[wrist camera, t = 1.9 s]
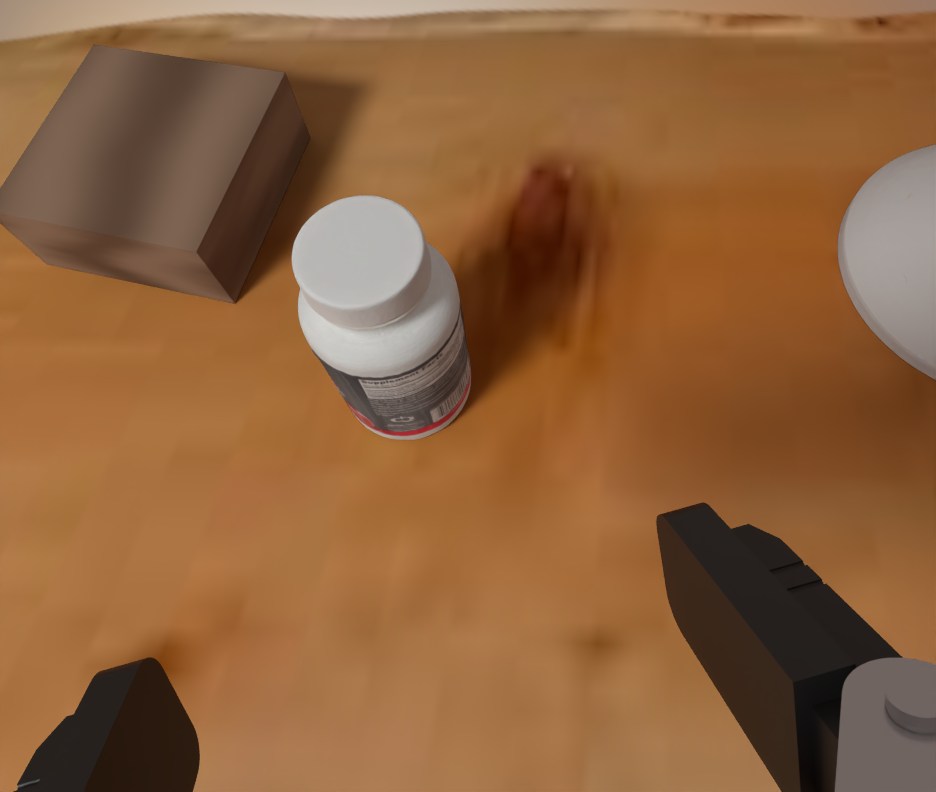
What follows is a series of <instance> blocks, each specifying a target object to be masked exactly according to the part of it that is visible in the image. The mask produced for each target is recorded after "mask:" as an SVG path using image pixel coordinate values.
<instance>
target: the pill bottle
mask: <svg viewBox="0 0 936 792" xmlns="http://www.w3.org/2000/svg"><path fill="white" fill-rule="evenodd" d="M292 266H293V272H294V275H295V278H296V280H297V282H298V284H299V286H300V288H301V289H300V293H299V299H298V315H299V320H300V324H301V327H302V330H303V333H304V335H305V337H306V340H307V342H308V343H309V345H310V347H311V349H312V351H313V352H314V354H315V355H316V356H317V357H318V358H319V360H320V361H321V363H322V364H323V366H324V367H325V369H326V371H327V372H328V374H329V376H330V377H331V379H332V380H333V382H334V384H335V386H336V387H337V389H338V390H339V392H340V394H341V395H342V397H343V398H344V400H345V401H346V403H347V405H348V406H349V408H350V409H351V411H352V412H353V414H354V415H355V416H356V417H357V419H358V420H359V421H360V422H361V423H362V424H363V425H364V426H365V427H367V428H368V429H369V430H371V431H373V432H374V433H376V434H378V435H381V436H383V437H387V438H390V439H399V440H414V439H420V438H424V437H426V436H429V435H431V434H434V433H436V432H438V431H440V430H442V429H443V428H444V427H446V426H447V425H449V424H450V423H451V422H452V421H453V420H454V419H455V418H456V416H457V415H458V414H459V413H460V411H461V410H462V408H463V406H464V404H465V403H466V400H467V398H468V395H469V391H470V386H471V366H470V359H469V354H468V349H467V342H466V336H465V328H464V322H463V314H462V308H461V303H460V297H459V292H458V287H457V283H456V280H455V276H454V274H453V272H452V270H451V268H450V266H449V264H448V263H447V261H446V260H445V258H444V257H443V256H442V255H441V254H440V253H439V252H438V251H437V250H436V249H435V248H434V247H432V246H431V245H430V244H429V243H427V242H426V241H425V237H424V234H423V231H422V229H421V227H420V225H419V223H418V221H417V220H416V219H415V217H414V216H413V215H412V214H411V213H410V212H409V211H408V210H407V209H406V208H404V207H403V206H401V205H400V204H398V203H396V202H394V201H391V200H389V199H386V198H383V197H378V196H364V195H361V196H353V197H348V198H343V199H340V200H337V201H335V202H333V203H331V204H329V205H327V206H325V207H323V208H322V209H320V210H319V211H317V212H316V213H315V214H314V215H313V216H311V217H310V218H309V220H308V221H307V222H306V223H305V224H304V225H303V226H302V228H301V230H300V231H299V233H298V235H297V237H296V240H295V242H294V245H293V251H292Z"/></svg>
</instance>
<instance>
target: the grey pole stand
mask: <svg viewBox="0 0 936 792" xmlns="http://www.w3.org/2000/svg"><path fill="white" fill-rule="evenodd" d="M838 260H839V266H840V271H841V275H842V279H843V282H844V285H845V287H846V290H847V292H848V294H849V296H850V298H851V300H852V302H853V304H854V306H855V308H856V309H857V311H858V313H859V314H860V316H861V317H862V318H863V320H864V321H865V323H866V324H867V325H868V326H869V327H870V329H871V330H872V331H873V332H874V333H875V335H876V336H877V337H878V338H879V339H880V340H881V341H882V342H883V343H884V344H885V345H886V346H888V347H889V348H890V349H891V350H892V351H893V352H894V353H896V354H897V355H898V356H899V357H900V358H902V359H903V360H904V361H906V362H907V363H909V364H910V365H911V366H913V367H914V368H916V369H918V370H919V371H921V372H922V373H924V374H926V375H927V376H929V377H931V378H933V379H935V380H936V145H932V146H928V147H924V148H920V149H917V150H914V151H911V152H909V153H907V154H904V155H902V156H900V157H898V158H896V159H894V160H892V161H891V162H889V163H888V164H886V165H885V166H883V167H882V168H881V169H879V170H878V171H877V172H876V173H874V174H873V175H872V176H871V177H870V178H869V179H868V180H867V181H866V182H865V183H864V184H863V186H862V187H861V188H860V189H859V191H858V192H857V194H856V195H855V197H854V198H853V200H852V201H851V203H850V204H849V206H848V208H847V210H846V212H845V214H844V217H843V220H842V223H841V226H840V231H839V237H838Z"/></svg>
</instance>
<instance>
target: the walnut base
mask: <svg viewBox="0 0 936 792" xmlns="http://www.w3.org/2000/svg"><path fill="white" fill-rule="evenodd" d="M309 139H310V136H309V133H308V130H307V128H306V125H305V123H304V120H303V118H302V115H301V112H300V110H299V107H298V105H297V102H296V99H295V97H294V94H293V92H292V89H291V86H290V84H289V81H288V79H287V76H286V73H285V72H279V71H272V70H265V69H258V68H251V67H244V66H238V65H231V64H224V63H217V62H210V61H203V60H196V59H189V58H182V57H175V56H169V55H162V54H155V53H148V52H141V51H134V50H127V49H120V48H113V47H106V46H99V45H93V47H92V48H91V50H90V51H89V53H88V54H87V56H86V57H85V59H84V61H83V62H82V64H81V65H80V67H79V68H78V70H77V71H76V73H75V74H74V76H73V77H72V79H71V81H70V82H69V84H68V85H67V87H66V88H65V90H64V91H63V93H62V94H61V96H60V97H59V99H58V101H57V102H56V104H55V105H54V107H53V108H52V110H51V111H50V113H49V114H48V116H47V117H46V119H45V121H44V122H43V124H42V125H41V127H40V128H39V130H38V131H37V133H36V134H35V136H34V137H33V139H32V141H31V142H30V144H29V145H28V147H27V148H26V150H25V151H24V153H23V154H22V156H21V157H20V159H19V161H18V162H17V164H16V165H15V167H14V168H13V170H12V171H11V173H10V174H9V176H8V177H7V179H6V181H5V182H4V184H3V185H2V187H1V188H0V223H1V224H2V225H3V226H4V227H5V228H6V229H7V230H8V231H10V232H11V233H12V234H13V235H14V236H15V237H16V238H18V239H19V240H20V241H21V242H22V243H23V244H24V245H25V246H27V247H28V248H29V249H30V250H31V251H32V252H33V253H34V254H36V255H37V256H38V257H39V258H40V259H41V260H42V261H44V262H45V263H46V264H48V265H53V266H58V267H63V268H68V269H72V270H77V271H82V272H87V273H91V274H96V275H101V276H106V277H111V278H115V279H120V280H125V281H130V282H134V283H139V284H144V285H149V286H153V287H158V288H163V289H168V290H173V291H177V292H182V293H187V294H192V295H196V296H201V297H206V298H211V299H216V300H220V301H225V302H230V303H235V302H236V300H237V298H238V295H239V293H240V291H241V289H242V287H243V284H244V282H245V280H246V278H247V276H248V273H249V271H250V269H251V267H252V265H253V262H254V260H255V258H256V256H257V254H258V251H259V249H260V247H261V245H262V243H263V240H264V238H265V236H266V234H267V232H268V229H269V227H270V225H271V223H272V221H273V218H274V216H275V214H276V212H277V210H278V207H279V205H280V203H281V201H282V199H283V196H284V194H285V192H286V190H287V188H288V185H289V183H290V181H291V179H292V177H293V174H294V172H295V170H296V168H297V166H298V163H299V161H300V159H301V157H302V155H303V152H304V150H305V148H306V146H307V144H308V141H309Z"/></svg>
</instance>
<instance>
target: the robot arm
mask: <svg viewBox="0 0 936 792" xmlns="http://www.w3.org/2000/svg"><path fill="white" fill-rule="evenodd" d="M656 523H657V532H658V539H659V545H660V552H661V558H662V565H663V571H664V578H665V584H666V591H667V596H668V600H669V604H670V607H671V610H672V613H673V615H674V618H675V620H676V623H677V625H678V627H679V629H680V631H681V633H682V634H683V636H684V638H685V639H686V641H687V642H688V644H689V645H690V647H691V649H692V650H693V652H694V653H695V655H696V657H697V658H698V660H699V661H700V663H701V664H702V666H703V668H704V669H705V671H706V672H707V674H708V676H709V677H710V679H711V680H712V682H713V684H714V685H715V687H716V688H717V690H718V691H719V693H720V695H721V696H722V698H723V699H724V701H725V703H726V704H727V706H728V707H729V709H730V710H731V712H732V714H733V715H734V717H735V718H736V720H737V722H738V723H739V725H740V726H741V728H742V729H743V731H744V733H745V734H746V736H747V737H748V739H749V741H750V742H751V744H752V745H753V747H754V749H755V750H756V752H757V753H758V755H759V756H760V758H761V760H762V761H763V763H764V764H765V766H766V768H767V769H768V771H769V772H770V774H771V775H772V777H773V779H774V780H775V782H776V783H777V785H778V787H779V788H780V790H781V791H782V792H936V665H934V664H931V663H928V662H924V661H920V660H916V659H908V658H903V657H902V656H900V655H899V654H898V653H897V652H896V651H895V650H894V649H893V648H892V647H891V646H890V645H889V644H888V643H887V642H886V641H885V640H884V639H883V638H882V637H881V636H880V635H879V634H878V633H877V632H876V631H875V630H874V629H873V628H872V627H871V626H870V625H868V624H867V623H866V622H865V621H864V620H863V619H862V618H861V617H860V616H859V615H858V614H857V613H856V612H855V611H854V610H853V609H852V608H851V607H850V606H849V605H848V604H847V603H846V602H845V601H844V600H843V599H842V598H841V597H840V596H839V595H838V594H837V593H836V592H835V591H833V590H832V589H831V588H830V587H829V586H828V585H827V584H823V582H822V579H821V578H820V577H819V576H818V575H817V574H816V573H815V572H814V571H813V570H812V569H811V568H810V567H809V566H808V565H804V563H803V560H802V559H801V558H800V557H798V556H797V555H796V554H795V553H794V552H793V551H792V550H791V549H790V548H789V547H788V546H787V545H786V544H785V543H784V542H783V541H782V540H781V539H780V538H777V537H775V536H773V535H771V534H769V533H767V532H764V531H762V530H760V529H758V528H756V527H754V526H752V525H749V524H747V525H743V526H740V527H736V528H733V529H730V528H729V527H728V525H727V524H726V523H725V522H724V521H723V520H722V519H721V518H720V517H719V516H718V515H717V514H716V512H715V511H714V510H713V509H712V508H711V507H710V506H709V505H708V504H706V503H699V504H696V505H692V506H689V507H685V508H681V509H678V510H674V511H671V512H667V513H664V514H660V515H658V516H657V521H656ZM199 760H200V752H199V743H198V738H197V734H196V731H195V728H194V726H193V724H192V722H191V720H190V718H189V717H188V715H187V713H186V711H185V709H184V707H183V705H182V703H181V702H180V700H179V698H178V696H177V694H176V692H175V690H174V688H173V686H172V685H171V683H170V681H169V679H168V677H167V675H166V673H165V671H164V669H163V668H162V666H161V664H160V663H159V662H158V661H157V660H156V659H154V658H145V659H142V660H138V661H135V662H131V663H128V664H124V665H121V666H117V667H114V668H110V669H106V670H103V671H100V672H98V673H97V674H96V675H95V676H94V677H93V679H92V681H91V683H90V684H89V686H88V688H87V690H86V692H85V694H84V696H83V698H82V700H81V702H80V704H79V706H78V707H77V709H76V711H75V713H74V715H70V716H67V717H66V718H65V719H64V720H63V721H62V722H61V723H60V724H59V725H58V726H57V728H56V729H55V730H54V731H53V732H52V733H51V734H50V735H49V736H48V737H47V739H46V740H45V741H44V742H43V743H42V744H41V745H40V746H39V747H38V749H37V750H36V751H35V753H34V755H33V757H32V759H31V760H30V762H29V764H28V766H27V768H26V769H25V771H24V773H23V775H22V777H21V778H20V780H19V782H18V784H17V785H18V790H17V791H14V792H193V789H194V785H195V781H196V778H197V774H198V770H199Z"/></svg>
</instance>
